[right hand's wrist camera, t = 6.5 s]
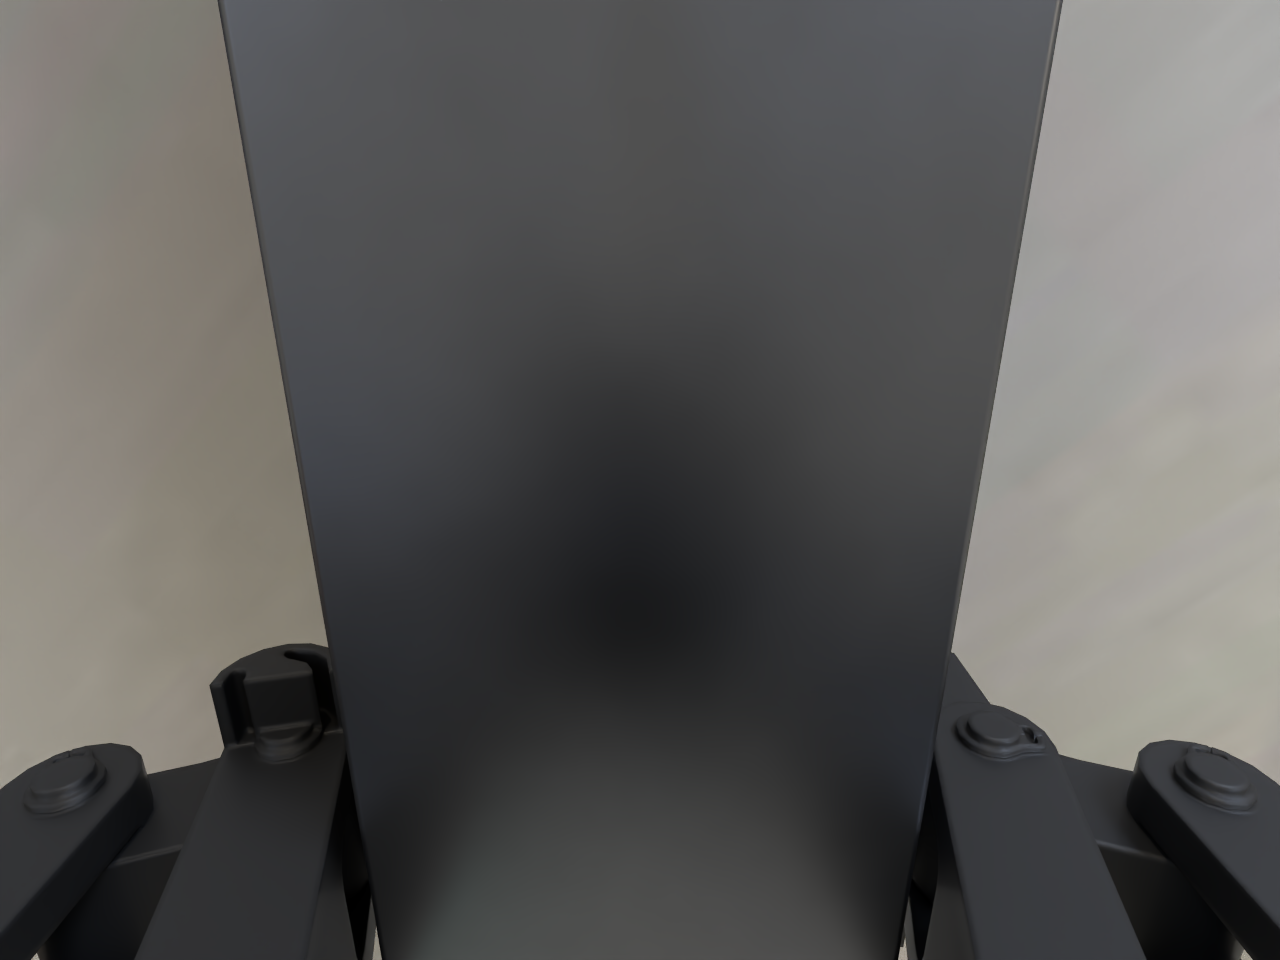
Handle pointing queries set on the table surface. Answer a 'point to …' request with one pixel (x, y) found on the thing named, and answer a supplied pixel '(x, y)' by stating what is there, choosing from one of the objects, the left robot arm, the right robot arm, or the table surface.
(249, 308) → the table surface
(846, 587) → the bar
